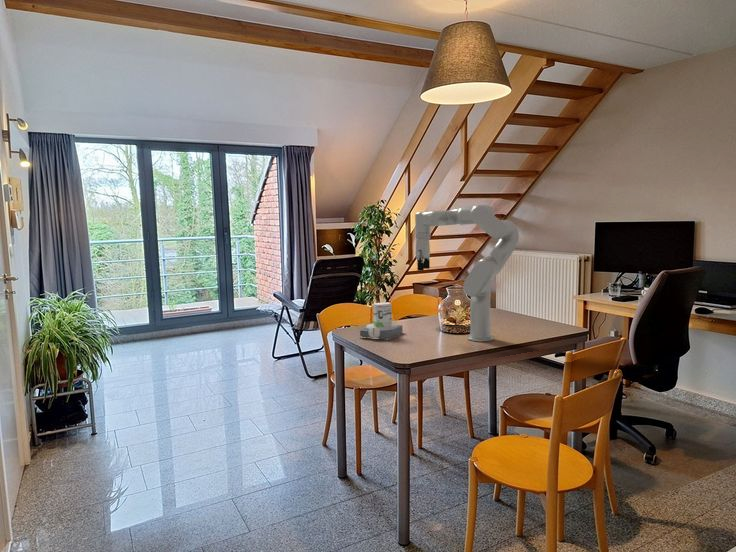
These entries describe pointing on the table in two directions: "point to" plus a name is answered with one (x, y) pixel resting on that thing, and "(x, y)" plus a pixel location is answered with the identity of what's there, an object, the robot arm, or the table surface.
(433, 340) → the table surface
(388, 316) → the ink box
